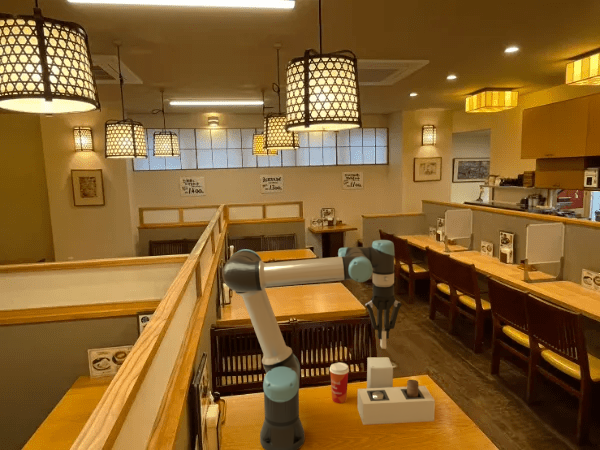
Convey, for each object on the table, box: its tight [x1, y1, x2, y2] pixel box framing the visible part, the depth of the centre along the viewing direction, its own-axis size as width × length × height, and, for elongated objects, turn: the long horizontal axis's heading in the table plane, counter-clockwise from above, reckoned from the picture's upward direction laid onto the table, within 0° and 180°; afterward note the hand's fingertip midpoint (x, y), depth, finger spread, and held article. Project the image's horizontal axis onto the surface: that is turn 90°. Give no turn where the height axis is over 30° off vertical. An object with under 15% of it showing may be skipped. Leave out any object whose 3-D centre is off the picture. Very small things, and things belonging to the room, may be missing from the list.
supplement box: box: [366, 356, 394, 389], centre depth 164 cm, size 9×9×15 cm
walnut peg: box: [406, 379, 419, 398], centre depth 152 cm, size 4×4×8 cm
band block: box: [357, 385, 436, 426], centre depth 153 cm, size 26×10×8 cm, turn 93°
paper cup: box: [329, 361, 350, 404], centre depth 163 cm, size 8×8×14 cm
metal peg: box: [372, 391, 383, 400], centre depth 152 cm, size 4×4×8 cm
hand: (383, 347), depth 149 cm, fingers closed
